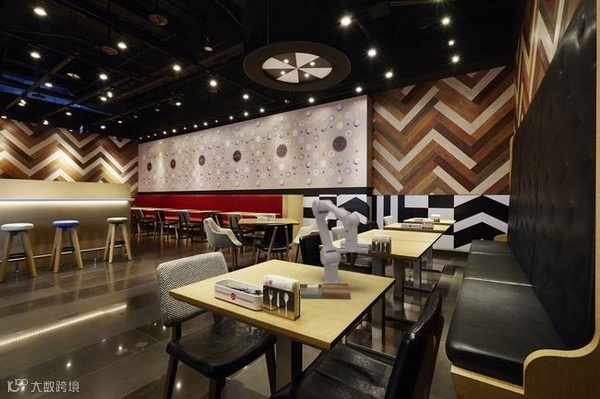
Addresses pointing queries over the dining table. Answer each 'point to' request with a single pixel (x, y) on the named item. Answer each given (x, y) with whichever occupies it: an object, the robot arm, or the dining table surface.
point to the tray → (310, 295)
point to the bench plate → (336, 291)
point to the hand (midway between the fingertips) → (352, 268)
